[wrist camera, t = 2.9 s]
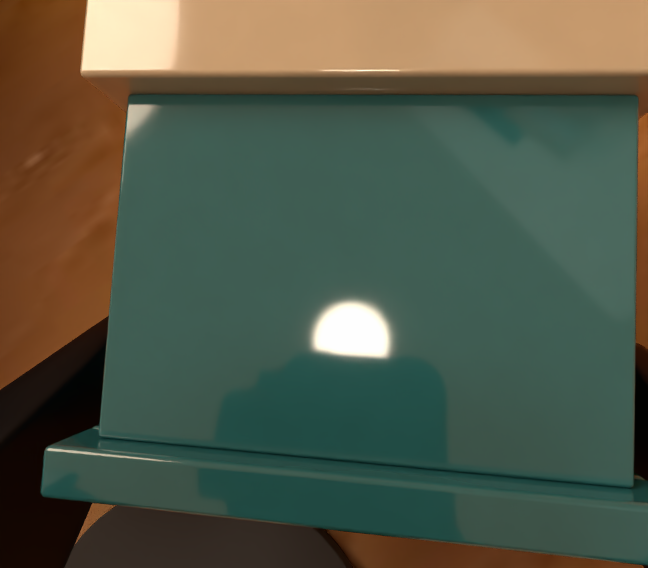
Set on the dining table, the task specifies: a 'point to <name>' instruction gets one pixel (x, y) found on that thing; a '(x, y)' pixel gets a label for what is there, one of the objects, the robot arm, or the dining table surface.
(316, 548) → the mat
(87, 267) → the dining table surface
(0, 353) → the dining table surface
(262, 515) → the teal rimmed box
